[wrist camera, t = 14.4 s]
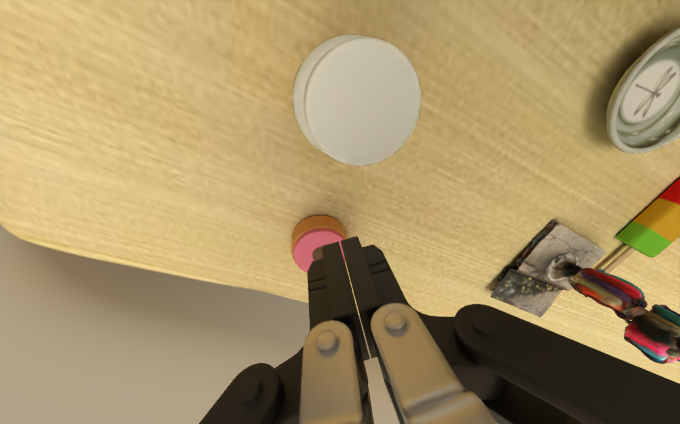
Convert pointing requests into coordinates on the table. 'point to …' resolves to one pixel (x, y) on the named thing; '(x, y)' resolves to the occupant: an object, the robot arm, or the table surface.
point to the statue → (587, 290)
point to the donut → (315, 239)
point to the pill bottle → (357, 99)
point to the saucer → (648, 99)
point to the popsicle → (652, 227)
